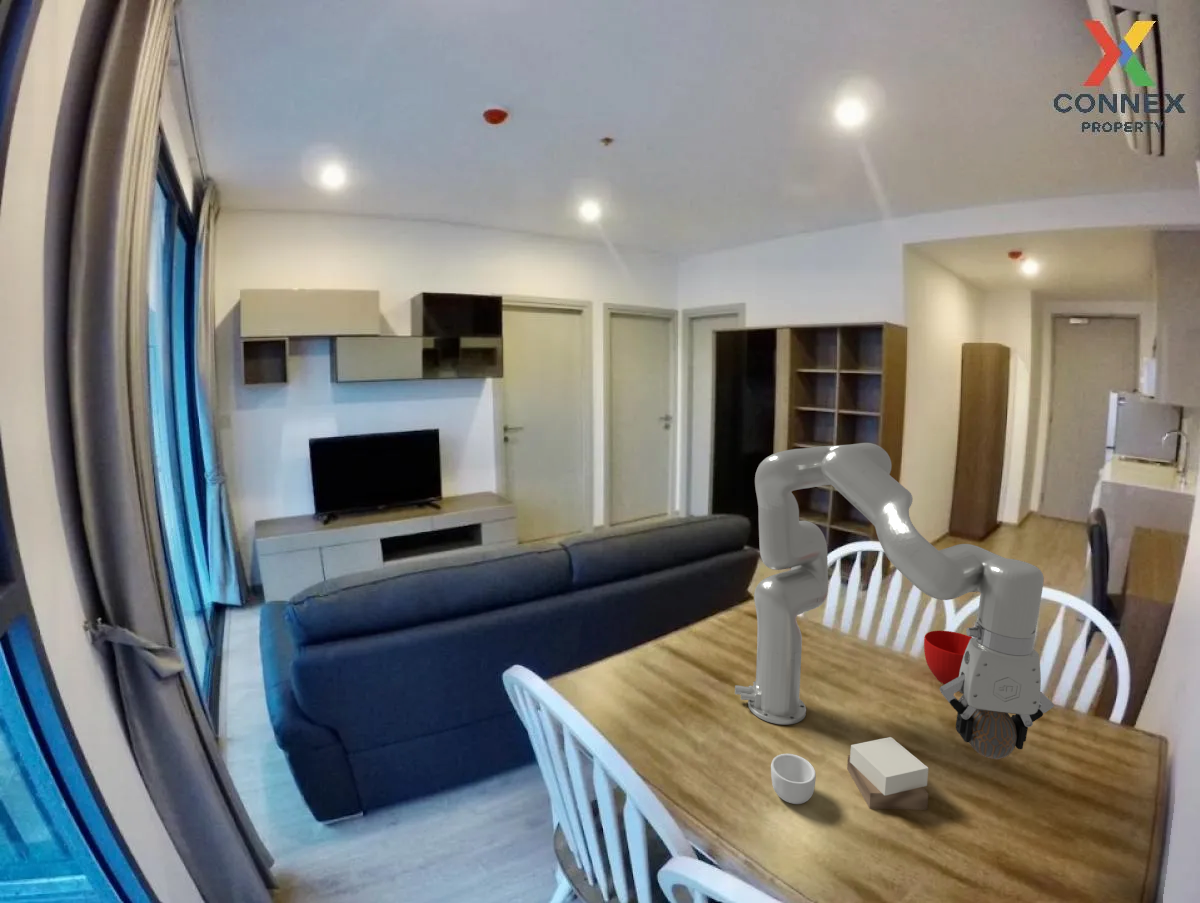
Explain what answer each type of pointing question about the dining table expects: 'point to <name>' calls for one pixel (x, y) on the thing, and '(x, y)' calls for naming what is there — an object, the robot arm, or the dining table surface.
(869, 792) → the base block
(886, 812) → the dining table surface
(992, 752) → the vase
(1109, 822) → the dining table surface
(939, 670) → the red rounded bowl
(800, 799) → the teacup
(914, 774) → the top block
